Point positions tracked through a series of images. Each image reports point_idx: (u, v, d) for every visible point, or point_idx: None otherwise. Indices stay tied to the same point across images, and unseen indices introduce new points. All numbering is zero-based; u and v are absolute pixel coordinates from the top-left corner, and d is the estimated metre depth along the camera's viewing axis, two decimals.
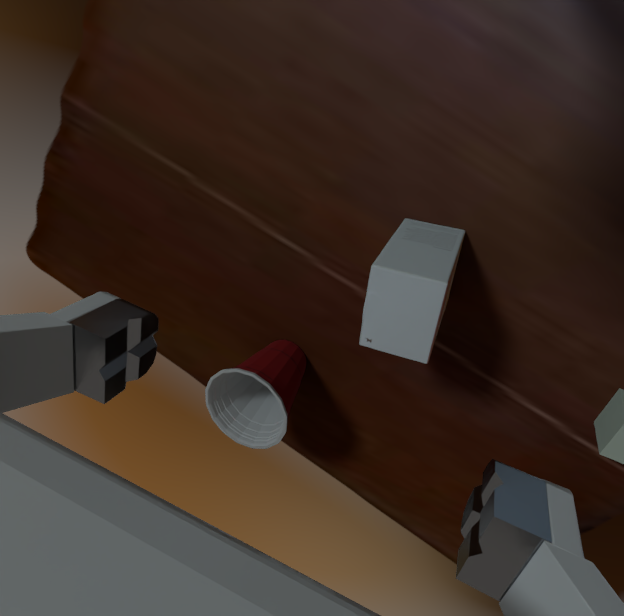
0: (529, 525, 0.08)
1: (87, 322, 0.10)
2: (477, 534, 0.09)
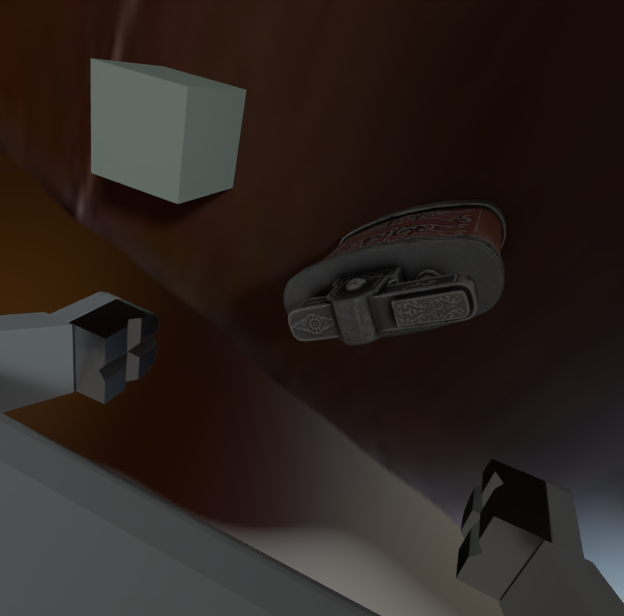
0: (529, 525, 0.08)
1: (87, 322, 0.10)
2: (477, 534, 0.09)
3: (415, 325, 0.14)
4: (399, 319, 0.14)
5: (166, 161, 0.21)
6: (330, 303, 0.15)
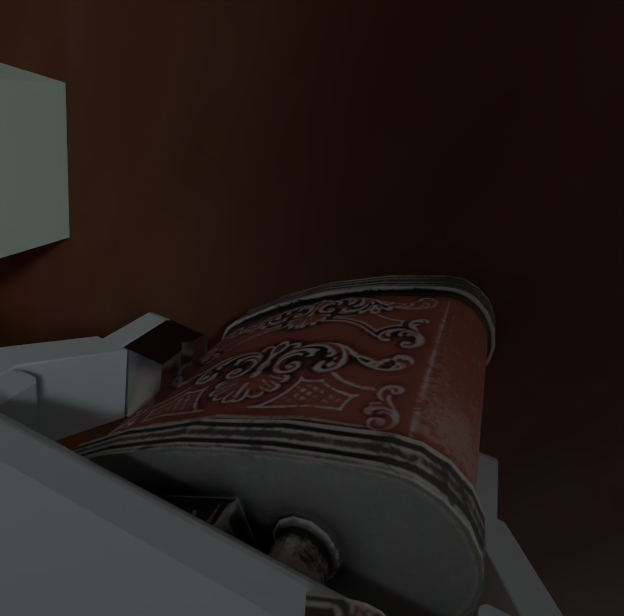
0: None
1: (141, 346, 0.10)
2: None
3: None
4: None
5: None
6: None
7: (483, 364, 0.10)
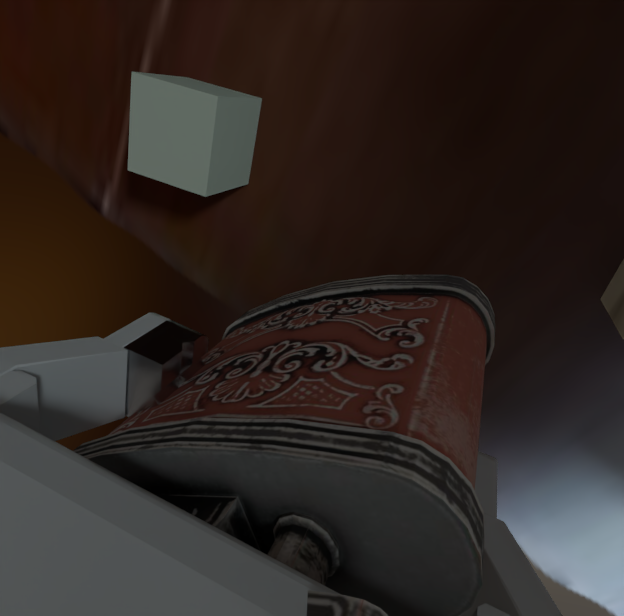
0: None
1: (142, 346, 0.10)
2: None
3: None
4: None
5: (197, 159, 0.24)
6: None
7: (482, 363, 0.10)
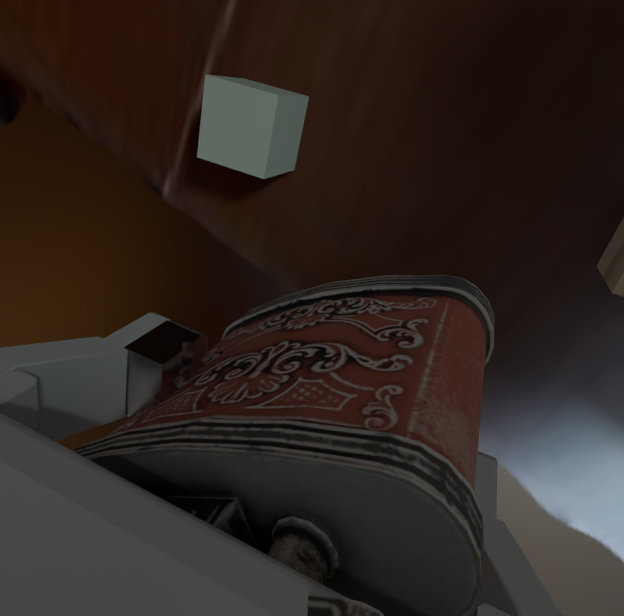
0: None
1: (142, 346, 0.10)
2: None
3: None
4: None
5: (258, 148, 0.29)
6: None
7: (482, 363, 0.10)
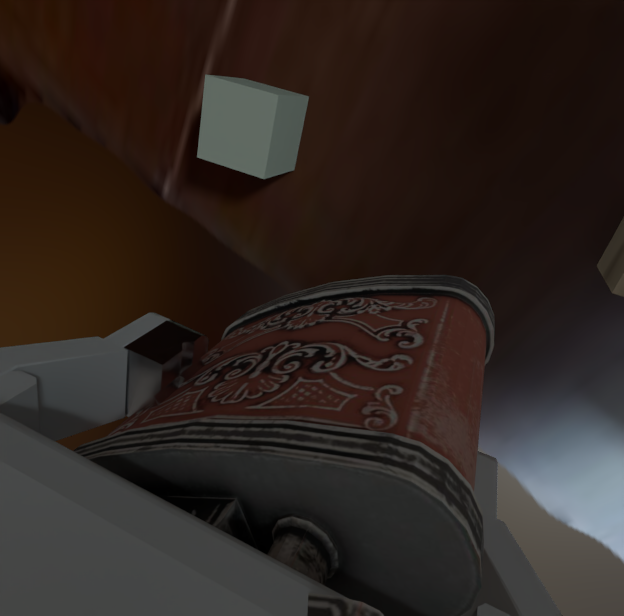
0: None
1: (142, 346, 0.10)
2: None
3: None
4: None
5: (258, 148, 0.29)
6: None
7: (482, 363, 0.10)
